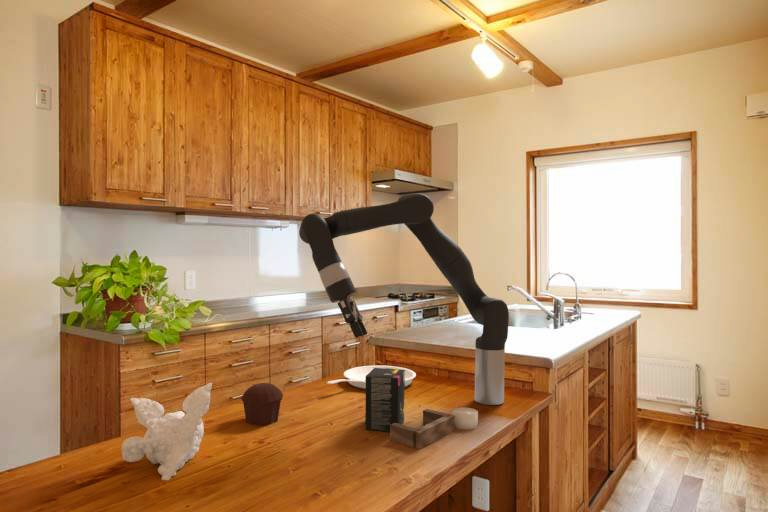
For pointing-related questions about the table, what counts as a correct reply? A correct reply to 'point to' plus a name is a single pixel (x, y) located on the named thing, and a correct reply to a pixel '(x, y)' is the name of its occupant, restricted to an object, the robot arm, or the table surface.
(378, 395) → the tampon box
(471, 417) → the rounded cream block
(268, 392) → the muffin
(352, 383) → the pan
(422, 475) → the table surface
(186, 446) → the white animal figurine
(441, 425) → the frame
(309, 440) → the table surface
